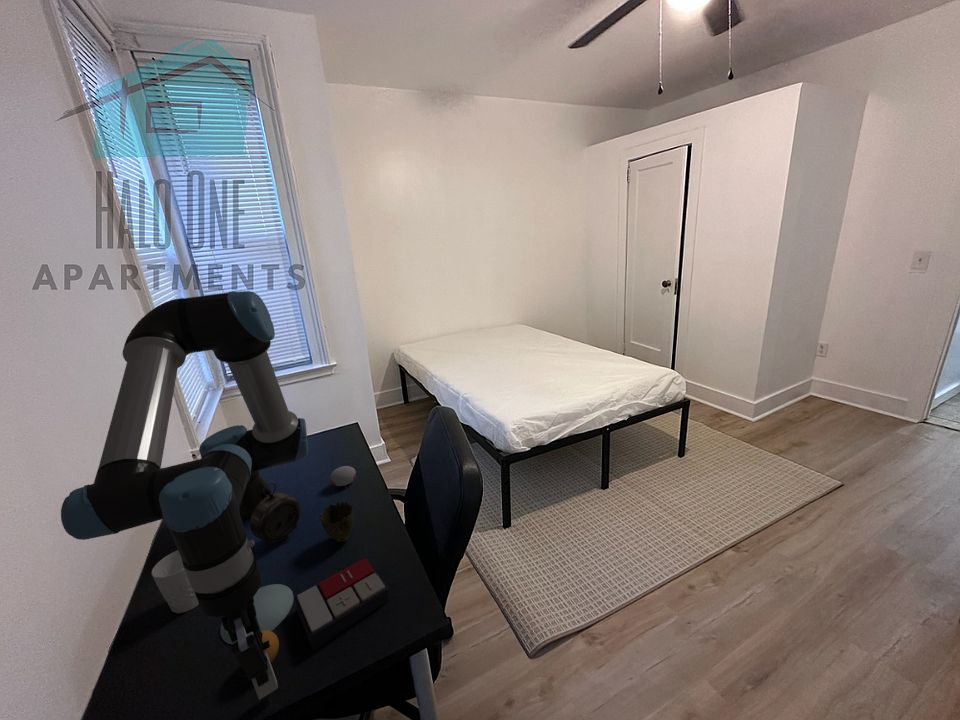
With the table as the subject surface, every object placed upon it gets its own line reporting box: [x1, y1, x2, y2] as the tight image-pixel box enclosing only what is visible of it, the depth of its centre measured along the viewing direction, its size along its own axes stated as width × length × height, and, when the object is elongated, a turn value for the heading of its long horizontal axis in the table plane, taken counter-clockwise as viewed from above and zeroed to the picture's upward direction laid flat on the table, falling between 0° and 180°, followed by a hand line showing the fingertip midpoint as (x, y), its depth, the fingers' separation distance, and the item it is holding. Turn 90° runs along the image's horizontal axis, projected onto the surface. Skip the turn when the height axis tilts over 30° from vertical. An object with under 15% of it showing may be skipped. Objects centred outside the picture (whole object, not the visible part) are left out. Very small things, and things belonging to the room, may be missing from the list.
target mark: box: [219, 583, 294, 645], centre depth 78 cm, size 13×13×1 cm
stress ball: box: [329, 465, 357, 490], centre depth 118 cm, size 8×8×7 cm
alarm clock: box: [249, 481, 301, 551], centre depth 95 cm, size 11×5×16 cm, turn 150°
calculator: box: [293, 558, 391, 651], centre depth 77 cm, size 11×4×15 cm
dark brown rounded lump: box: [319, 501, 354, 544], centre depth 95 cm, size 8×7×8 cm
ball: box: [261, 630, 280, 663], centre depth 67 cm, size 6×6×6 cm
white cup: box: [150, 549, 200, 614], centre depth 81 cm, size 8×8×10 cm
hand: (268, 689), depth 62 cm, fingers closed
